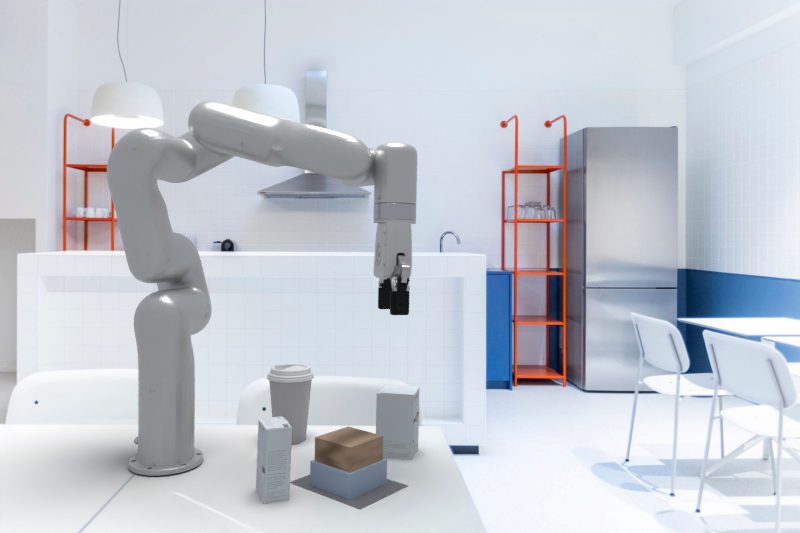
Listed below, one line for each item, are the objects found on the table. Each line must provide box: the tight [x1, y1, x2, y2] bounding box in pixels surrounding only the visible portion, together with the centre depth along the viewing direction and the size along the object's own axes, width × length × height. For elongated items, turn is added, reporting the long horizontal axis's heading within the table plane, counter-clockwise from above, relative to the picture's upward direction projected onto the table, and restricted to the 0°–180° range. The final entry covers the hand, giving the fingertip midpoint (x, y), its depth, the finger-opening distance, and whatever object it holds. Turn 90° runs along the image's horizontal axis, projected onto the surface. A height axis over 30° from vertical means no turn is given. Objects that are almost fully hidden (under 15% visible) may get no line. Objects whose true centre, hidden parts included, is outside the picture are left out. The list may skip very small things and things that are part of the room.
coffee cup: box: [266, 363, 315, 445], centre depth 124 cm, size 10×10×15 cm
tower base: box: [309, 457, 388, 500], centre depth 101 cm, size 9×9×4 cm
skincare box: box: [255, 416, 292, 505], centre depth 96 cm, size 6×4×12 cm
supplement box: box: [375, 384, 420, 460], centre depth 117 cm, size 7×7×13 cm
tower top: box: [314, 426, 384, 473], centre depth 101 cm, size 8×8×4 cm
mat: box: [290, 474, 409, 510], centre depth 101 cm, size 16×12×1 cm
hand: (392, 311), depth 107 cm, fingers open, 9 cm apart
